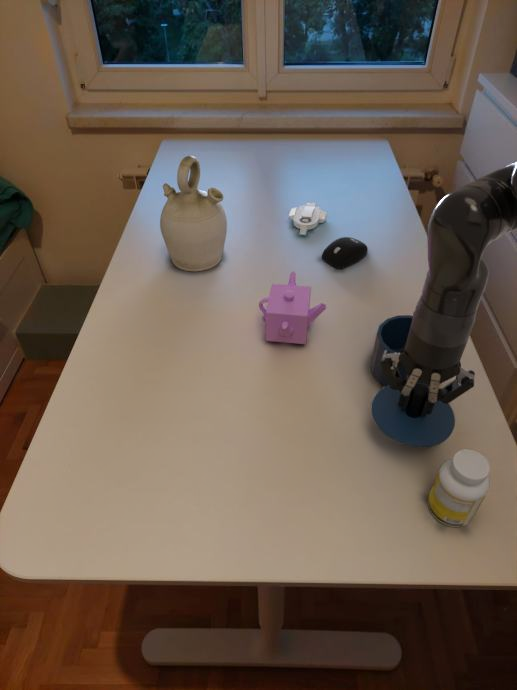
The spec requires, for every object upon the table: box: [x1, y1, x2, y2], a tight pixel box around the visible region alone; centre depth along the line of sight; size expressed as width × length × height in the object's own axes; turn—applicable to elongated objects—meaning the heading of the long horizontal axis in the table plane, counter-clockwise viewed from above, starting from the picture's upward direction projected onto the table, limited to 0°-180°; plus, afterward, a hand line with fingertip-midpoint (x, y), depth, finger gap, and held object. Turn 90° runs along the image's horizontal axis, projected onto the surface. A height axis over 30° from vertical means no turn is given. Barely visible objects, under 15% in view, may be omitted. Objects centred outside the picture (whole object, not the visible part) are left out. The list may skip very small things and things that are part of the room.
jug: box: [159, 155, 228, 272], centre depth 114 cm, size 15×16×25 cm
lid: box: [370, 383, 456, 449], centre depth 78 cm, size 13×13×7 cm
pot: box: [370, 314, 430, 388], centre depth 91 cm, size 12×12×8 cm
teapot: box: [258, 271, 327, 345], centre depth 99 cm, size 18×13×10 cm
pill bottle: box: [427, 448, 491, 528], centre depth 70 cm, size 6×6×12 cm
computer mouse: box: [321, 236, 369, 270], centre depth 121 cm, size 8×12×4 cm, turn 129°
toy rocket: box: [288, 201, 328, 237], centre depth 134 cm, size 16×10×2 cm, turn 166°
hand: (413, 409), depth 79 cm, fingers closed on lid, 2 cm apart
